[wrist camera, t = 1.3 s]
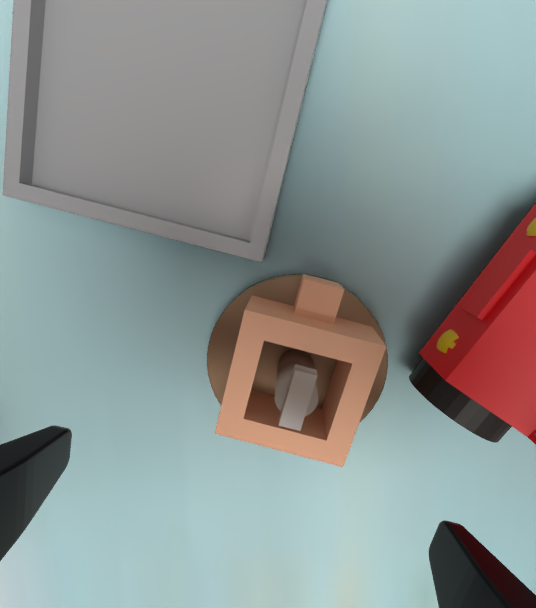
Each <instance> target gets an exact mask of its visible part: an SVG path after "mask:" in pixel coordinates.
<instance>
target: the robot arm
mask: <svg viewBox="0 0 536 608" xmlns="http://www.w3.org/2000/svg"><path fill="white" fill-rule="evenodd" d="M71 437H72V433H71V430H70V429H68V428H64V427H60V426H50V427H47V428H45V429H42V430H39V431H36V432H34V433H31V434H28V435H26V436H23V437H20V438H17V439H15V440H12V441H9V442H7V443H4V444H1V445H0V561H1V560H2V558H3V557H4V556H5V555H6V553H7V552H8V551H9V549H10V548H11V547H12V546H13V544H14V543H15V542H16V541H17V539H18V538H19V537H20V535H21V534H22V533H23V531H24V530H25V529H26V527H27V526H28V524H29V523H30V521H31V520H32V518H33V517H34V515H35V514H36V512H37V511H38V509H39V508H40V506H41V505H42V503H43V502H44V500H45V499H46V497H47V496H48V494H49V493H50V491H51V490H52V488H53V487H54V485H55V484H56V482H57V481H58V479H59V478H60V476H61V475H62V473H63V471H64V470H65V468H66V466H67V464H68V462H69V458H70V448H71ZM429 560H430V565H431V570H432V575H433V580H434V585H435V590H436V595H437V600H438V605H439V608H536V595H535V594H534V593H533V592H532V591H531V590H529V589H528V588H527V587H526V586H525V585H524V584H523V583H522V582H521V581H520V580H519V579H518V578H517V577H516V576H515V575H514V574H513V573H512V572H510V571H509V570H508V569H507V568H506V567H505V566H504V565H503V564H502V563H501V562H500V561H499V560H498V559H497V558H496V557H495V556H494V555H493V554H492V553H490V552H489V551H488V550H487V549H486V548H485V547H484V546H483V545H482V544H481V543H480V542H479V541H478V540H477V539H476V538H475V537H474V536H473V535H472V534H470V533H469V532H468V531H467V530H466V529H465V528H464V527H463V526H462V525H460V524H458V523H453V522H449V521H442V522H441V523H440V524H439V526H438V528H437V530H436V533H435V535H434V537H433V540H432V542H431V544H430V547H429Z"/></svg>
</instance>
